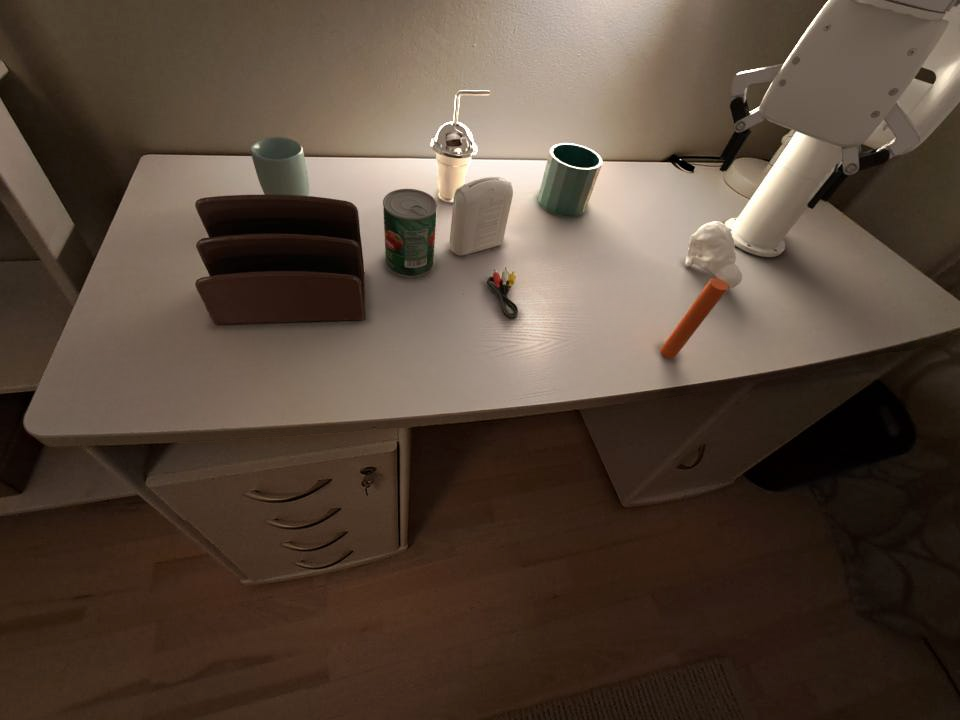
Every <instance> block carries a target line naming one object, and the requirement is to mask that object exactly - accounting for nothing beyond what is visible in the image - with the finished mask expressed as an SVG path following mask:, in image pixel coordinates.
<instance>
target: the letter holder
mask: <svg viewBox="0 0 960 720" xmlns="http://www.w3.org/2000/svg"><path fill="white" fill-rule="evenodd" d="M194 205H195V207H194V208H195V209H196V213H197V214H198V216H199V218H200V221H201V222H202V225H203V227H204V230H205V232H206V234H207V237H203V238H200V239H199V240H198V241H197V242H196V244H195V247H196V248H195V249H196V250H197V252H198V255H199V257H200V259H201V261H202V263H203V265H204V267H205V269H206V271H207V273H208V276H202V277H199V278H197V279H196V280H195V288H196V291H197V293H198V294H199V297H200V298H201V300H202V302H203V304H204V306H205V308H206V312H207V313H208V315H209V317H210V319H211V321H212V322H213V324H214V325H230V324H231V325H233V324H234V325H235V324H236V325H237V324H238V325H240V324H269V323H271V324H272V323H302V322H303V323H304V322H331V321H332V322H335V321H359V320H360V321H364V320H366V272H365V264H364V254H363V253H364V252H363V247H362V246H363V244H362V236H361V235H362V234H361V224H360V216H359V215H360V214H359V209H358V207H357V206H356V205H355V204H354V203H353V202H352V201H348V200H342V199H338V198H337V199H336V198H330V197H322V196H312V195H309V196H300V195H265V194H235V195H234V194H233V195H216V196H208V197H207V196H206V197H202V198H201V197H200V198H199V199H197V200H196V201H195V203H194Z"/></svg>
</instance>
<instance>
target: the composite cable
mask: <svg viewBox="0 0 960 720" xmlns="http://www.w3.org/2000/svg"><path fill="white" fill-rule="evenodd" d="M515 273H516V271H515V270H512V272H511V273H510V272H509V270H508V267H507V266H505V267H504V269H503V271H502V272H501V276H500V273H499V271H497V269H496V268H494V269H493V273H492V276H489V277H487V279H486V281H485V283H486V285H487V287H488V288H489V289H490V290H491V291H493V293H494V294H495V295H496V296H497V297H498V298H499V301H500V306H501V311H502V313H503V315H504V317H506V318H507V319H509V320H513V319H516V318H517V317H518V315H519V309H518V306H517V304H515V302H514V301H512V300H511V299H509V297H508V295H509V293H510V291H511V288H512V286H513V285H514V284H515V282H516V278H517V275H516V274H515ZM492 283H493V284H494V285H495V286H494V285H493V284H492ZM506 305H507V306H508V307H509V308H510V310H512V313H511V312H509V311H508V310H507V307H506Z"/></svg>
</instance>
